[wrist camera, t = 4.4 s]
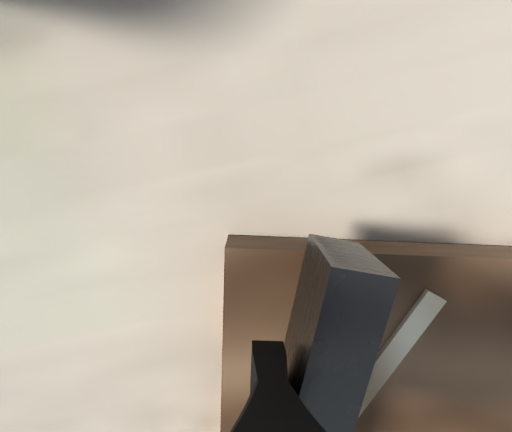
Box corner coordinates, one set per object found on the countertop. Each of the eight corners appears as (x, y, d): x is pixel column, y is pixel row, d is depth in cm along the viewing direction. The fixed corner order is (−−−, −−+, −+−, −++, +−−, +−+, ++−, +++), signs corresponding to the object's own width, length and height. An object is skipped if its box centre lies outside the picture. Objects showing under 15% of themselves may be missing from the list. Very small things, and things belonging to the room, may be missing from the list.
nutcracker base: (508, 523, 19) (542, 571, 17) (221, 517, 18) (217, 566, 16) (589, 249, 15) (646, 265, 13) (228, 234, 15) (224, 249, 12)
